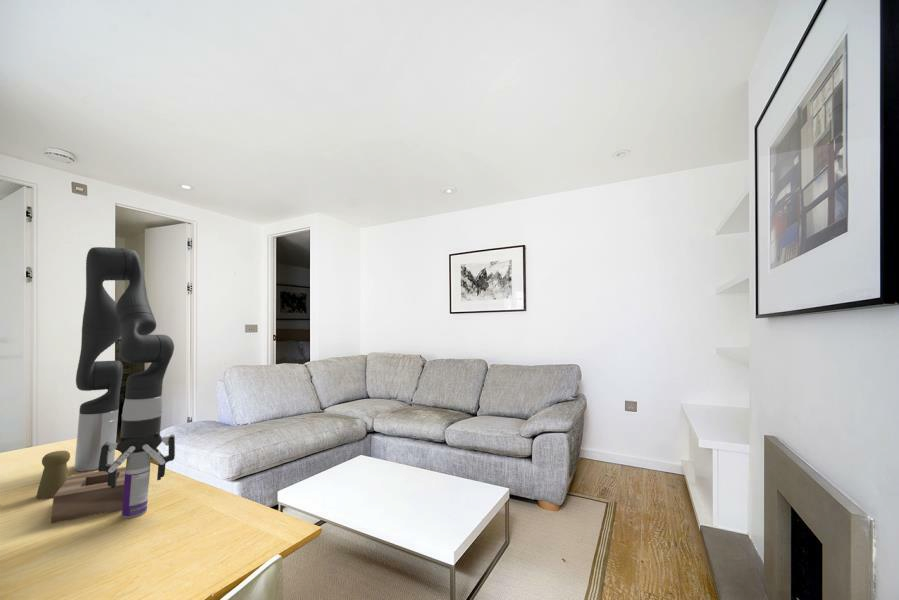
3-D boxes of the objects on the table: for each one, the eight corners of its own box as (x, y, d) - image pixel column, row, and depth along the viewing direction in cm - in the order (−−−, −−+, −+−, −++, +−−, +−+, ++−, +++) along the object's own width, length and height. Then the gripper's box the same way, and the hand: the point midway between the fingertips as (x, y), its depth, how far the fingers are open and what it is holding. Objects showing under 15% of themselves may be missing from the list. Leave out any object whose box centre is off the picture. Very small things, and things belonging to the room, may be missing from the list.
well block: (67, 499, 96) (69, 475, 96) (137, 486, 103) (139, 465, 104) (50, 523, 84) (53, 496, 84) (131, 507, 92) (133, 482, 92)
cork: (32, 496, 97) (36, 453, 98) (64, 487, 102) (67, 446, 103) (40, 501, 94) (44, 457, 95) (72, 492, 99) (76, 450, 100)
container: (120, 513, 89) (125, 450, 90) (145, 506, 93) (149, 445, 94) (122, 520, 86) (128, 454, 87) (148, 513, 89) (153, 450, 91)
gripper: (178, 409, 98) (173, 471, 97) (106, 415, 90) (100, 484, 89) (177, 415, 92) (172, 482, 91) (100, 422, 84) (93, 496, 83)
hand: (136, 483), depth 90 cm, fingers open, 8 cm apart
